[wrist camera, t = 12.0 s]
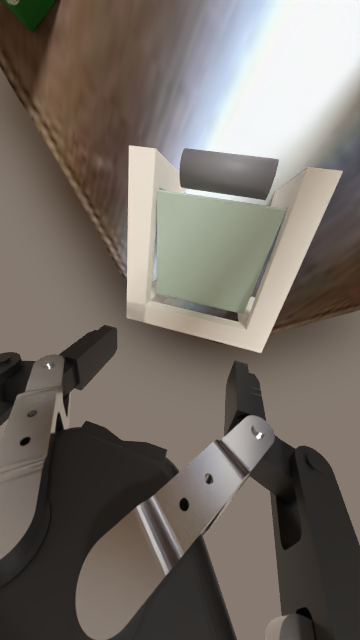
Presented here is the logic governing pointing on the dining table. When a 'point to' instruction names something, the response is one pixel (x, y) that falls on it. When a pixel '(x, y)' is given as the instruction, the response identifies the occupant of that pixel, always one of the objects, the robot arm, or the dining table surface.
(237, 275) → the trapdoor
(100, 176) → the dining table surface
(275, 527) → the robot arm
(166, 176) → the trapdoor stand
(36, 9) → the milk carton
